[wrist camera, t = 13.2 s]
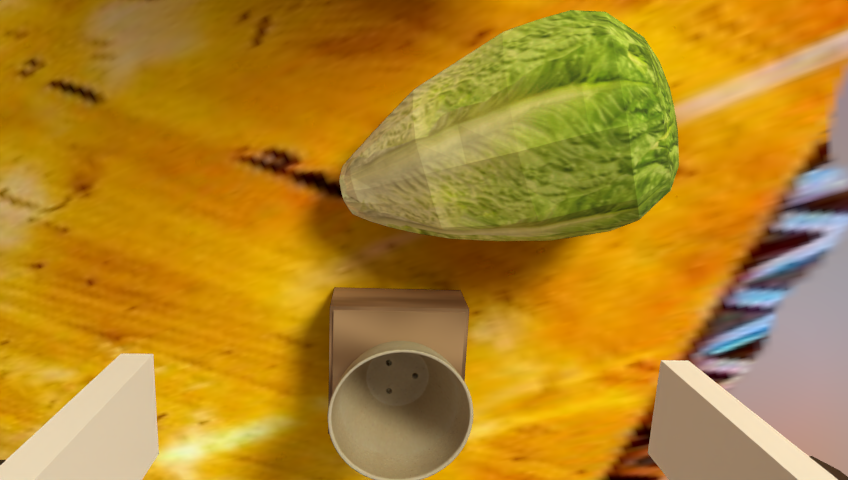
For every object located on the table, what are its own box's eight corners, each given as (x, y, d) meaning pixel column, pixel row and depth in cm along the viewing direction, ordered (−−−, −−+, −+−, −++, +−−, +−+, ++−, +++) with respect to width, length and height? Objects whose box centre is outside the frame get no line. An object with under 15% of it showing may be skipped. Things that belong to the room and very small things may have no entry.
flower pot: (469, 414, 48) (485, 465, 41) (351, 441, 47) (346, 497, 40) (446, 302, 45) (458, 336, 38) (322, 329, 45) (311, 368, 38)
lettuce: (403, 255, 55) (366, 89, 53) (678, 207, 47) (644, 11, 45) (334, 293, 41) (282, 70, 39) (709, 233, 33) (661, -48, 31)
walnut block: (334, 287, 50) (329, 307, 45) (460, 290, 51) (469, 309, 46) (332, 403, 52) (327, 434, 47) (453, 404, 53) (461, 435, 48)
